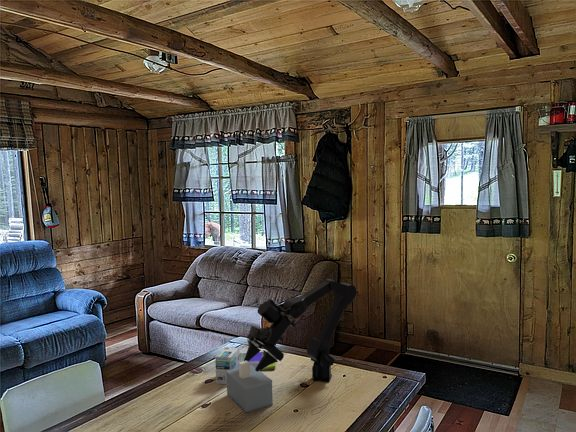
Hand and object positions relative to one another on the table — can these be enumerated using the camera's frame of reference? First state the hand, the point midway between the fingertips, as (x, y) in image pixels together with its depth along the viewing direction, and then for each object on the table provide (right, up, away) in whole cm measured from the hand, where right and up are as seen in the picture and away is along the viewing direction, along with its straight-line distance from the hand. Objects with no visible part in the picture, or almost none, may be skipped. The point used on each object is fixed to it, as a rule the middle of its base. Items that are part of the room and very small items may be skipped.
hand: (250, 366), depth 160 cm
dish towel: (-4, -11, +34) cm, 36 cm away
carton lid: (-1, -4, 0) cm, 4 cm away
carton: (0, -12, 0) cm, 12 cm away
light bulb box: (-10, -11, +19) cm, 24 cm away
